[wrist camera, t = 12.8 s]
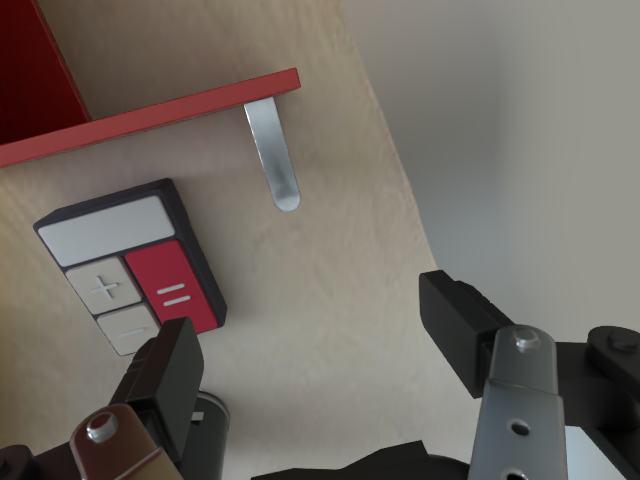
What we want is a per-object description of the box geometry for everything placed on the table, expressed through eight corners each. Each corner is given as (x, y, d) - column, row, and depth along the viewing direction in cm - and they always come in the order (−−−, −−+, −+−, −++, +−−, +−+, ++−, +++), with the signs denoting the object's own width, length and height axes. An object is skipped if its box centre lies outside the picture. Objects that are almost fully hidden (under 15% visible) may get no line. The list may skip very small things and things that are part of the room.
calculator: (116, 363, 35) (23, 228, 28) (131, 335, 38) (52, 210, 32) (225, 331, 35) (158, 189, 28) (229, 306, 39) (170, 176, 32)
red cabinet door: (302, 163, 34) (334, 221, 18) (141, 208, 33) (22, 309, 17) (281, 84, 31) (296, 66, 15) (105, 131, 30) (-76, 165, 14)
